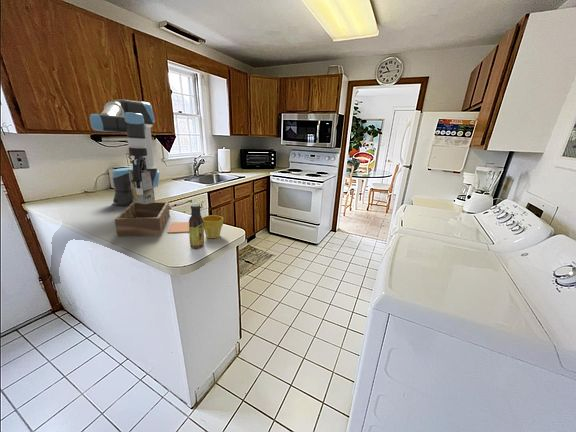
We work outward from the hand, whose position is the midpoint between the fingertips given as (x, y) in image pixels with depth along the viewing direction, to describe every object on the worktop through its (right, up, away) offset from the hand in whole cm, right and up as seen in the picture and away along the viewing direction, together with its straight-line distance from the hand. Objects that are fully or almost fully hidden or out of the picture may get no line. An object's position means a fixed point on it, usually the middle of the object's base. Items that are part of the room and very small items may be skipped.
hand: (142, 191), depth 122 cm
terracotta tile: (+18, -19, +7) cm, 27 cm away
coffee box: (-1, -5, +2) cm, 6 cm away
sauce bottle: (+33, -27, -12) cm, 44 cm away
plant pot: (+36, -23, 0) cm, 43 cm away
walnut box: (-1, -18, +6) cm, 19 cm away
